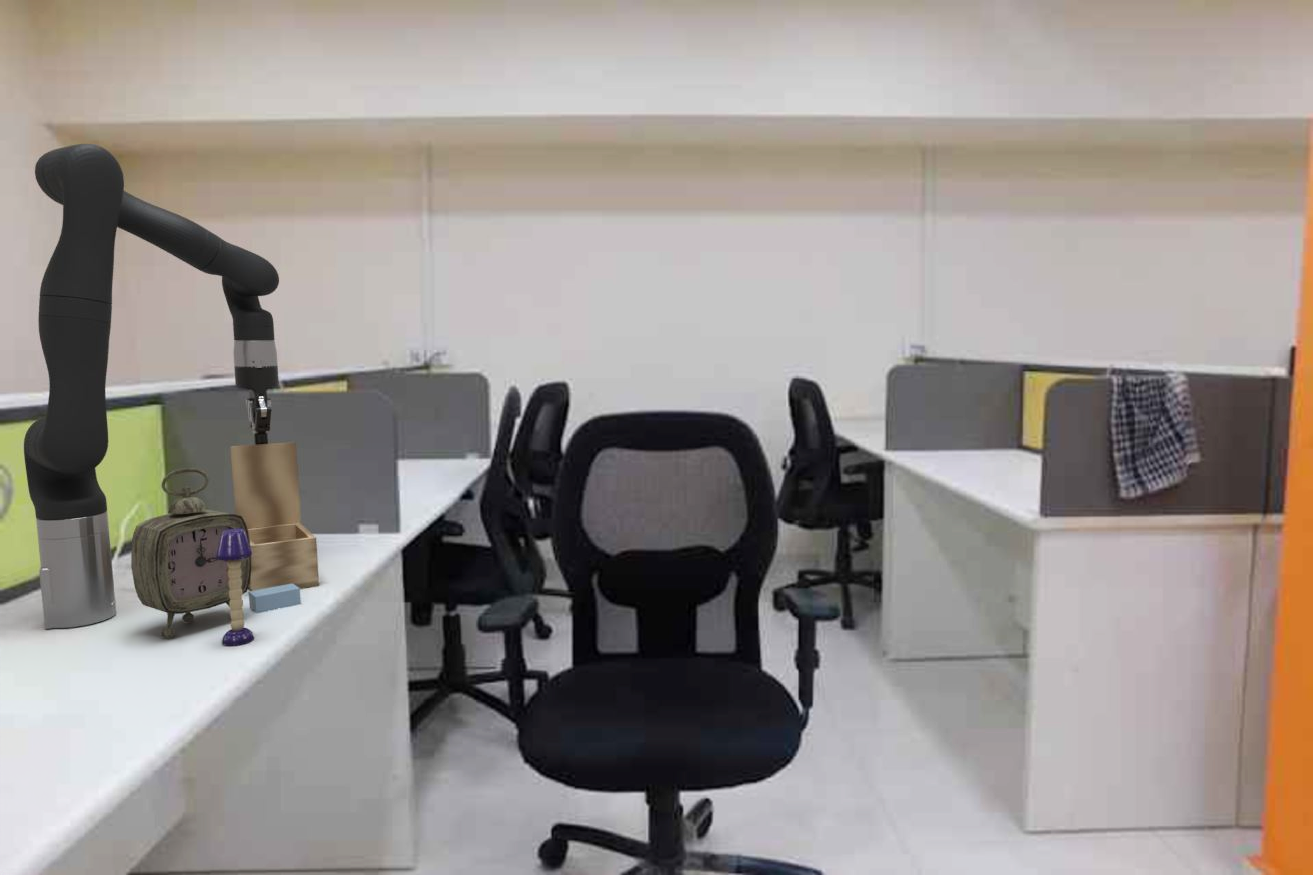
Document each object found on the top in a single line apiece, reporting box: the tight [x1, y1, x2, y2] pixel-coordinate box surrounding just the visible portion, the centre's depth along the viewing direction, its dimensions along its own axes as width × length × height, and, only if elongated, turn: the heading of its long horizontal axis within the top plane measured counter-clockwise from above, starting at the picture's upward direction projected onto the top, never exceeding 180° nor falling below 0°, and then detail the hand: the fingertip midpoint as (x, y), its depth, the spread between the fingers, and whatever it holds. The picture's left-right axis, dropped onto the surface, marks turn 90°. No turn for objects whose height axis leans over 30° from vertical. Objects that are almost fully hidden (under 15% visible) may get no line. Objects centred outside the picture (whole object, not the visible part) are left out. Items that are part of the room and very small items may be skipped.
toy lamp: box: [216, 529, 255, 646], centre depth 117 cm, size 5×5×17 cm
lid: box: [229, 441, 302, 529], centre depth 155 cm, size 11×16×1 cm
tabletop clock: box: [130, 467, 251, 639], centre depth 124 cm, size 14×9×25 cm, turn 147°
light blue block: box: [248, 584, 302, 614], centre depth 134 cm, size 7×4×3 cm, turn 132°
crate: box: [248, 522, 320, 592], centre depth 149 cm, size 11×16×9 cm
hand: (261, 452), depth 156 cm, fingers closed
